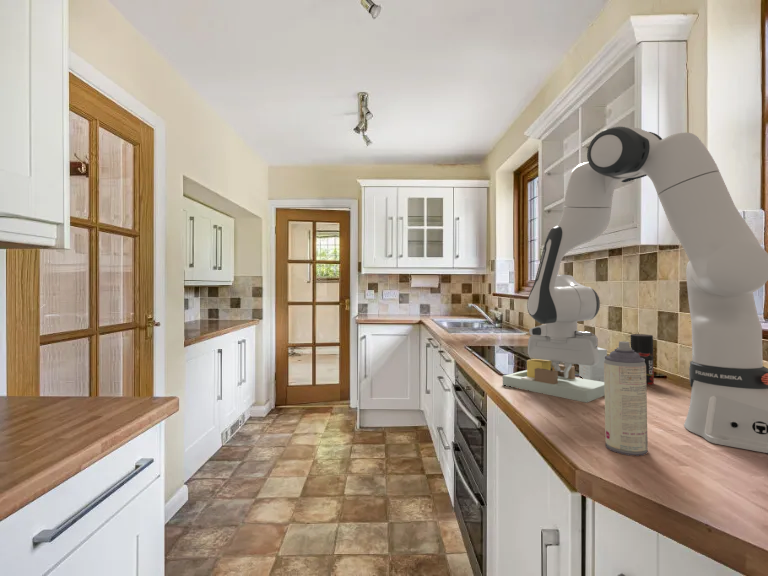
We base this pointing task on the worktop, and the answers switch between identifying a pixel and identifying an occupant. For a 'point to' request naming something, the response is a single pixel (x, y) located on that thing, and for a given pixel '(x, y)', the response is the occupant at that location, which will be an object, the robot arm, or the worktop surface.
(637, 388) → the aerosol can
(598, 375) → the small box
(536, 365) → the block
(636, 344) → the deodorant
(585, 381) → the board
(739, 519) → the worktop surface
